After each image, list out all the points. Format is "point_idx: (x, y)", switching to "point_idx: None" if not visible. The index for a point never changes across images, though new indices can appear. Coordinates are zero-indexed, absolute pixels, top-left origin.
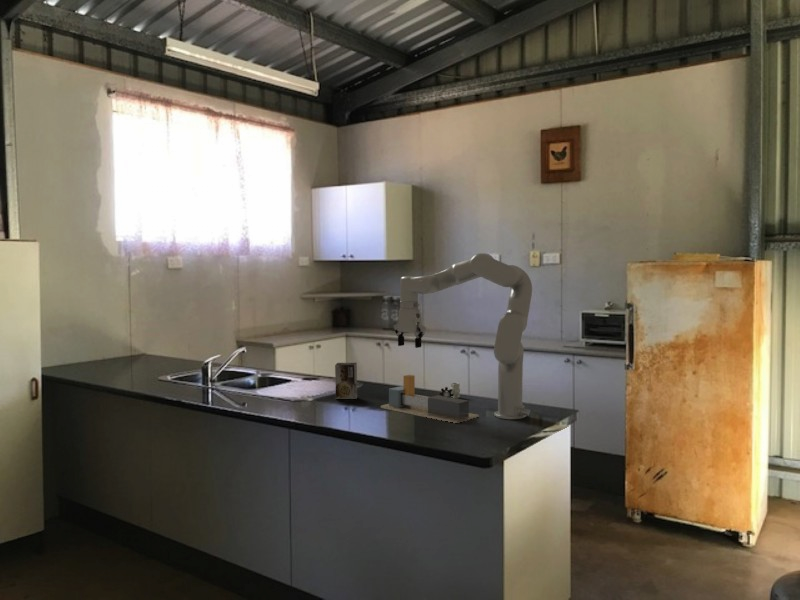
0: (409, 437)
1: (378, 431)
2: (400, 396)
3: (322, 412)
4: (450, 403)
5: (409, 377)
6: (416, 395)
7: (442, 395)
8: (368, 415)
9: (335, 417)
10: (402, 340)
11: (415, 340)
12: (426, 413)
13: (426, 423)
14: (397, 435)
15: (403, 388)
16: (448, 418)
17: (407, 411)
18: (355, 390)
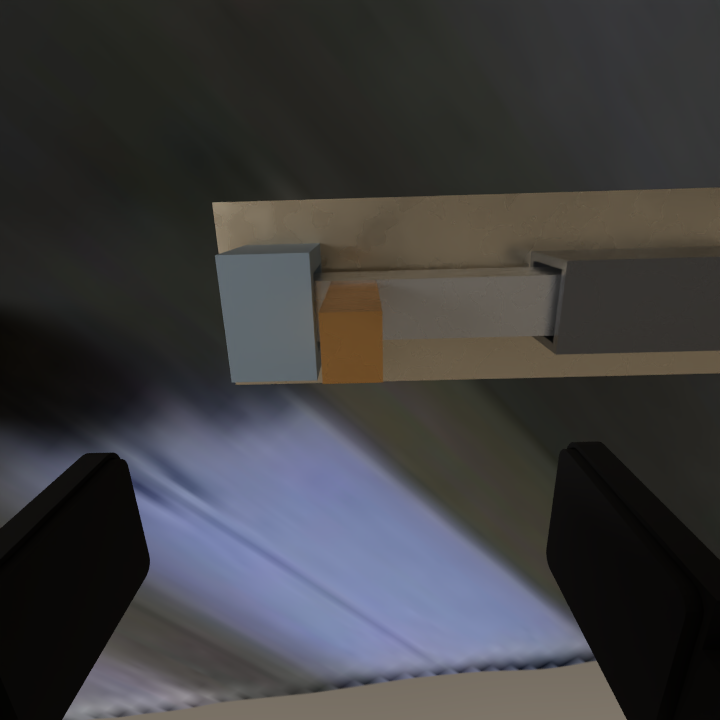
0: None
1: (525, 621)
2: (320, 348)
3: (144, 584)
4: None
5: (382, 370)
6: (409, 300)
7: None
8: (318, 506)
9: (252, 599)
10: (75, 572)
11: (633, 701)
12: (533, 354)
13: (608, 445)
14: None
15: (291, 311)
16: (682, 358)
17: (425, 379)
18: None
